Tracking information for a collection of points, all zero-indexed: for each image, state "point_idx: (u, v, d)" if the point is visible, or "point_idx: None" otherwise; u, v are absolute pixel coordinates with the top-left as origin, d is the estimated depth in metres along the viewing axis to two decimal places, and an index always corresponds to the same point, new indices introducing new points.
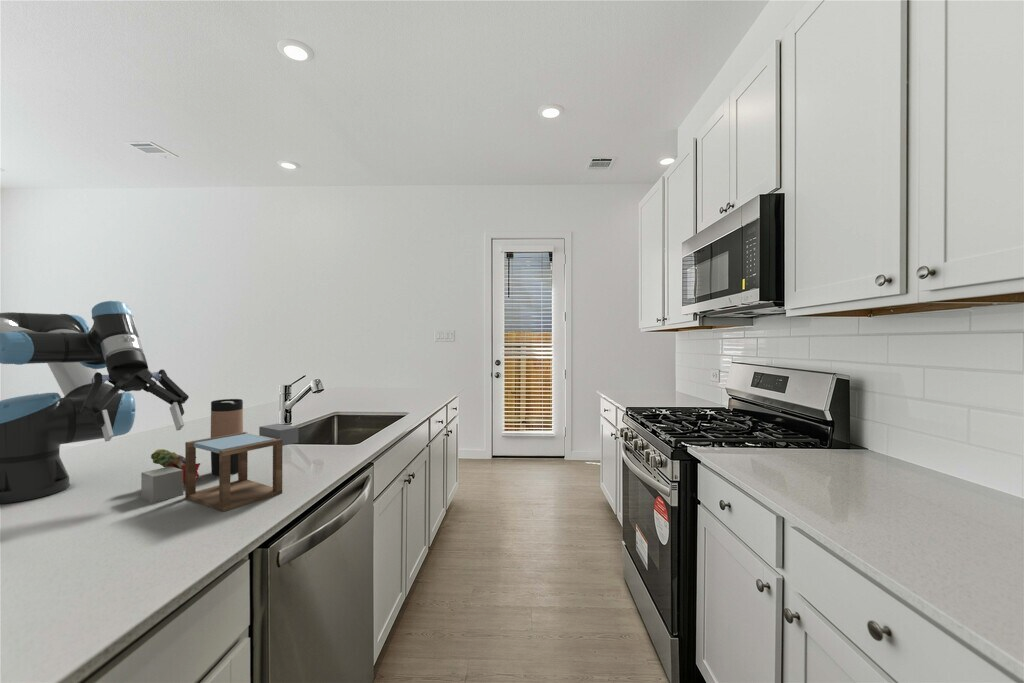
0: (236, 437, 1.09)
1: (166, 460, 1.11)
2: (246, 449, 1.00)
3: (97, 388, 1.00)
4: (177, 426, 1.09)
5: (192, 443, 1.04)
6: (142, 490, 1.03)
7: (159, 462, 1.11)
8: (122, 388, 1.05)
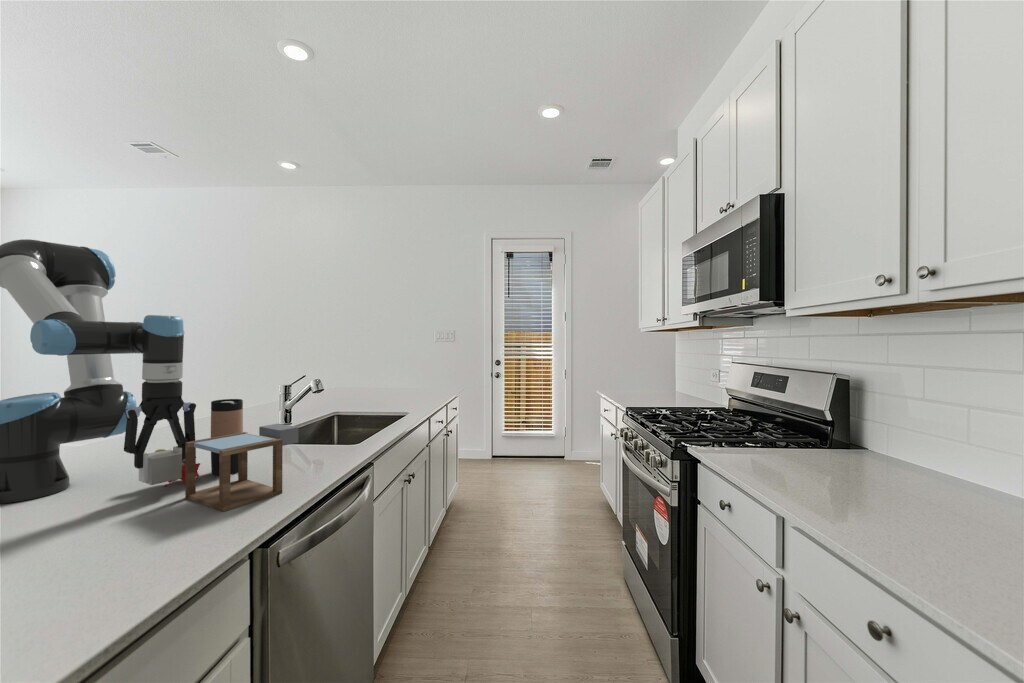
0: (236, 437, 1.09)
1: None
2: (246, 449, 1.00)
3: (135, 428, 1.00)
4: None
5: (192, 443, 1.04)
6: None
7: None
8: None
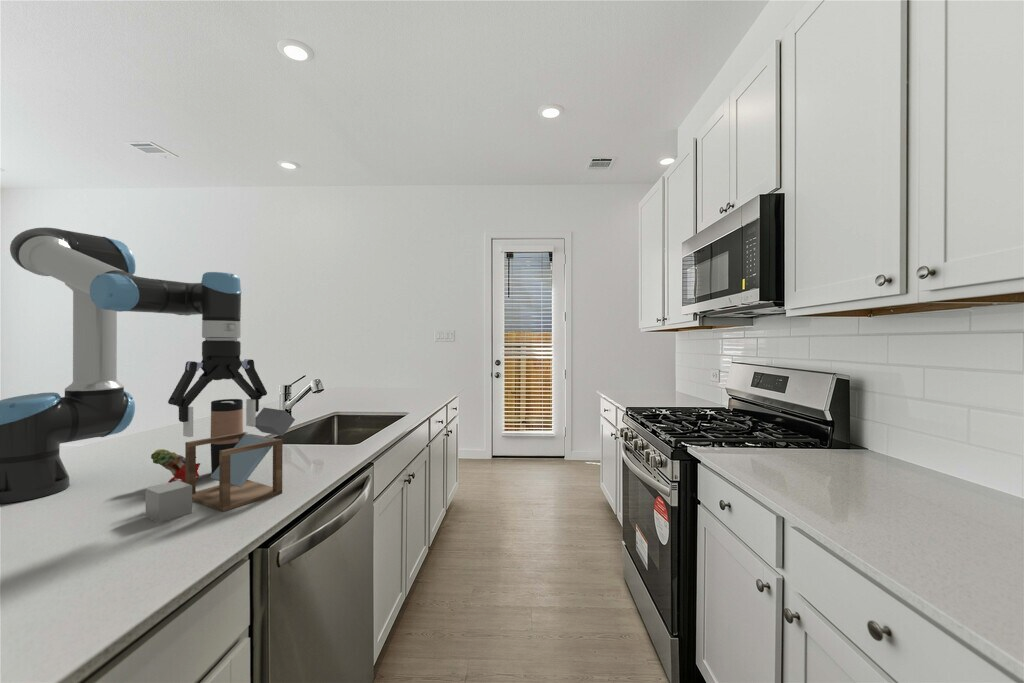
0: None
1: (166, 460, 1.11)
2: (246, 449, 1.00)
3: (190, 381, 0.96)
4: (248, 423, 1.09)
5: (192, 443, 1.04)
6: None
7: (159, 462, 1.11)
8: None
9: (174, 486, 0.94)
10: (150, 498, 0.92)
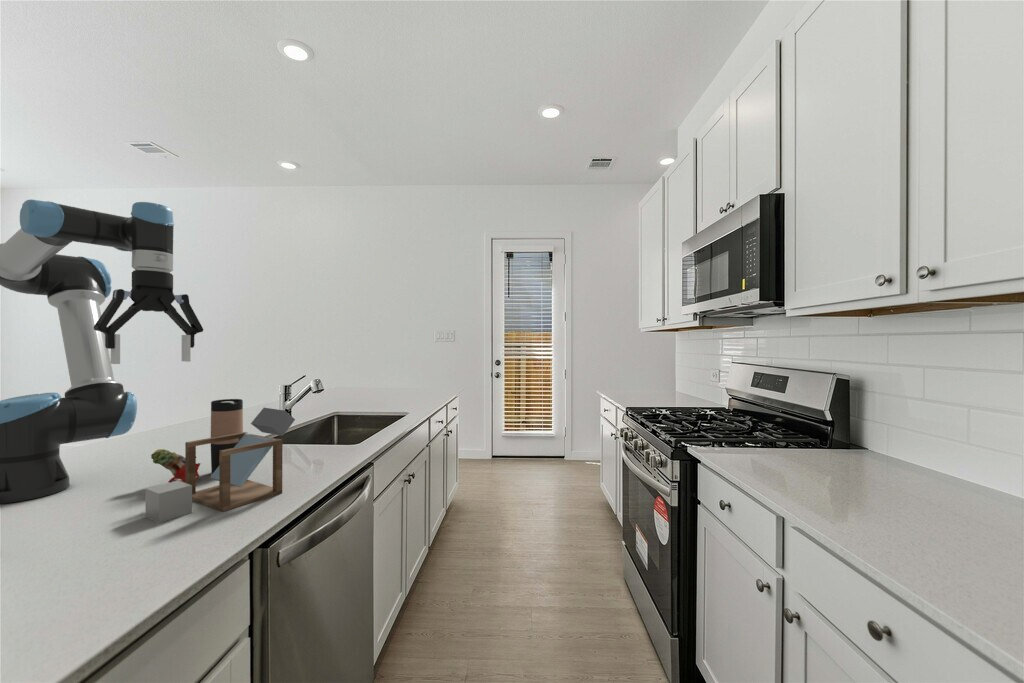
0: None
1: (166, 460, 1.11)
2: (246, 449, 1.00)
3: (116, 308, 0.96)
4: (183, 358, 1.09)
5: (192, 443, 1.04)
6: None
7: (159, 462, 1.11)
8: None
9: (174, 486, 0.94)
10: (150, 498, 0.92)
